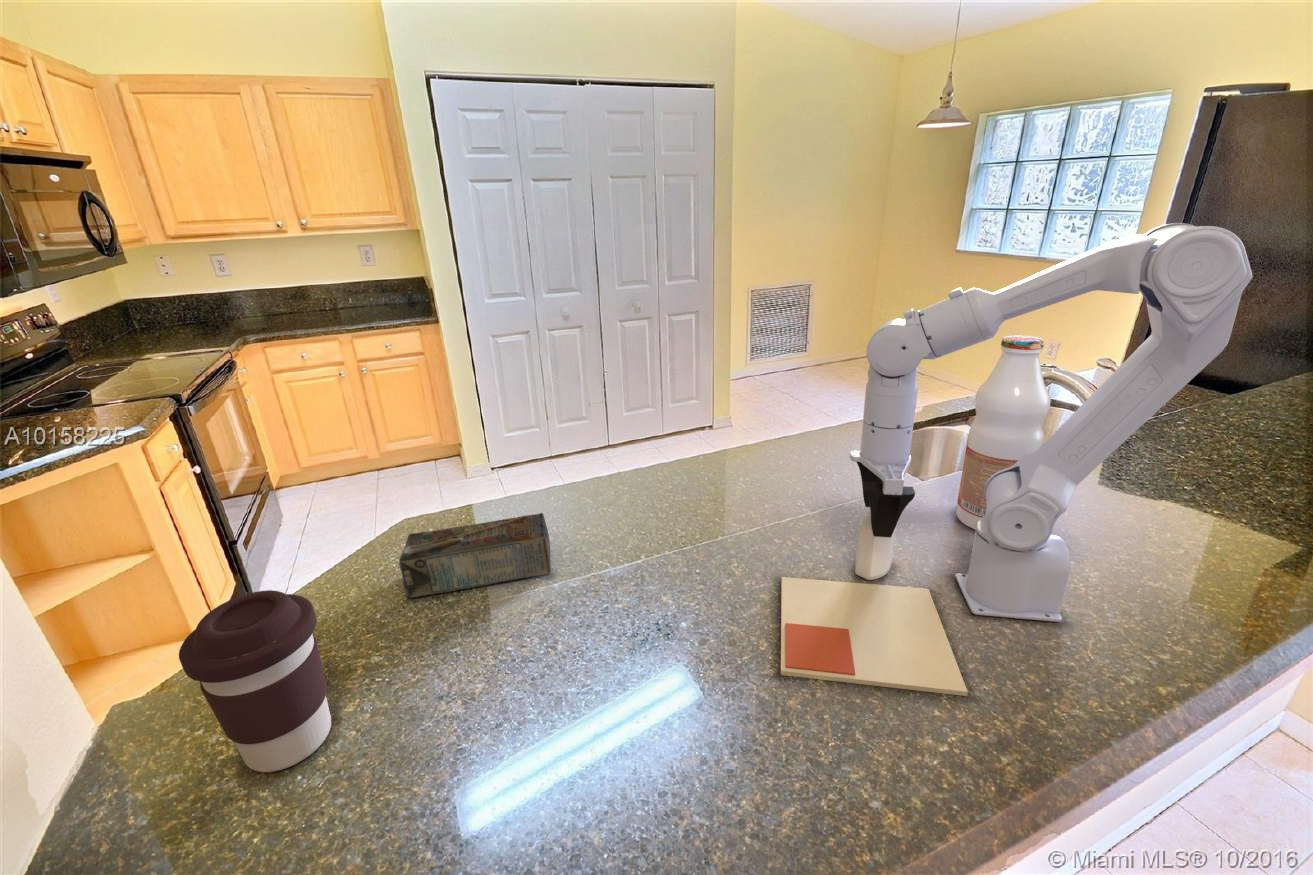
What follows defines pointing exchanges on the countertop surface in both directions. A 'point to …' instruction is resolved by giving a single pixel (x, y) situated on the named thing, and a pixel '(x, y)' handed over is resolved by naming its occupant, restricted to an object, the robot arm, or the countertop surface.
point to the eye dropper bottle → (873, 552)
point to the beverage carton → (475, 555)
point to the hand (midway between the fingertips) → (877, 520)
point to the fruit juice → (1003, 421)
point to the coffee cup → (262, 676)
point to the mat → (866, 636)
